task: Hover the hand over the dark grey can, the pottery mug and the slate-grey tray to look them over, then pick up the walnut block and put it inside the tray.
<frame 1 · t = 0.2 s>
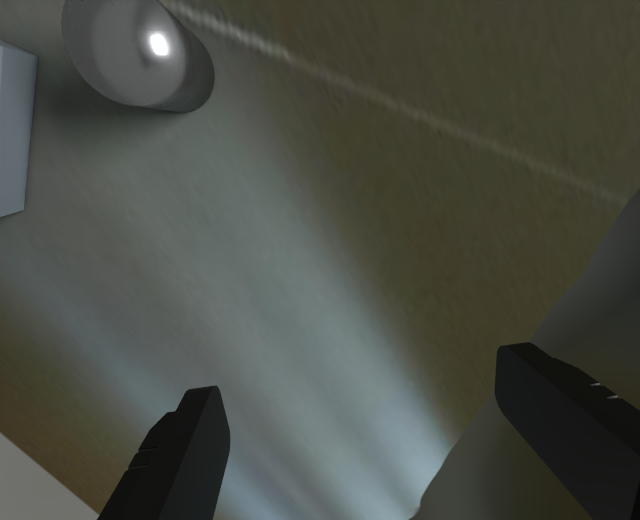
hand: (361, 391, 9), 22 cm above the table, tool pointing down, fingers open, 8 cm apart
grey can: (175, 70, 24), on the table
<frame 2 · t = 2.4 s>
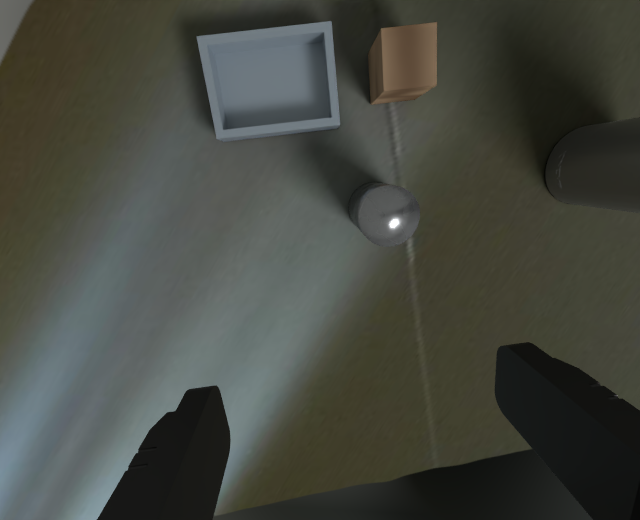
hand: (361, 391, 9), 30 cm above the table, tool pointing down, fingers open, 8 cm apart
grey can: (372, 207, 37), on the table
slate tray: (274, 90, 33), on the table
walnut block: (391, 77, 33), on the table
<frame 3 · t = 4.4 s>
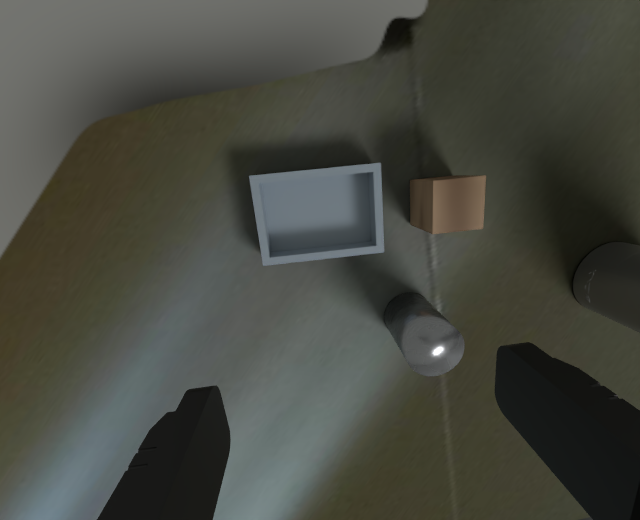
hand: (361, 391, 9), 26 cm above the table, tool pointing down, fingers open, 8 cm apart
grey can: (407, 314, 38), on the table
slate tray: (318, 212, 33), on the table
walnut block: (431, 200, 34), on the table
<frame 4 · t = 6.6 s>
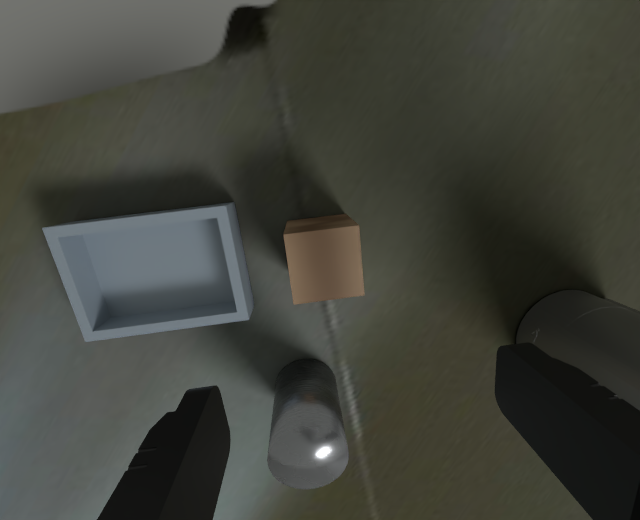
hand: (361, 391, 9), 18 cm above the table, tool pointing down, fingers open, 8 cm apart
grey can: (306, 385, 30), on the table
slate tray: (168, 265, 25), on the table
walnut block: (319, 245, 26), on the table
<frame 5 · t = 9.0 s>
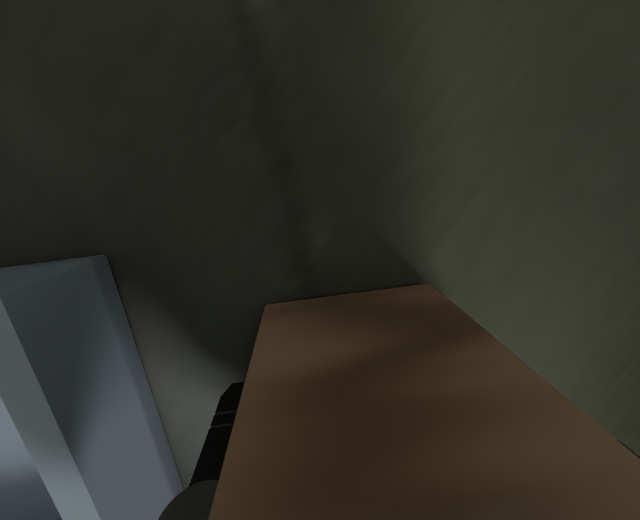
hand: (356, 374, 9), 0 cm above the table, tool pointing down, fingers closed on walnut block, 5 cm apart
walnut block: (354, 364, 10), on the table, touching gripper
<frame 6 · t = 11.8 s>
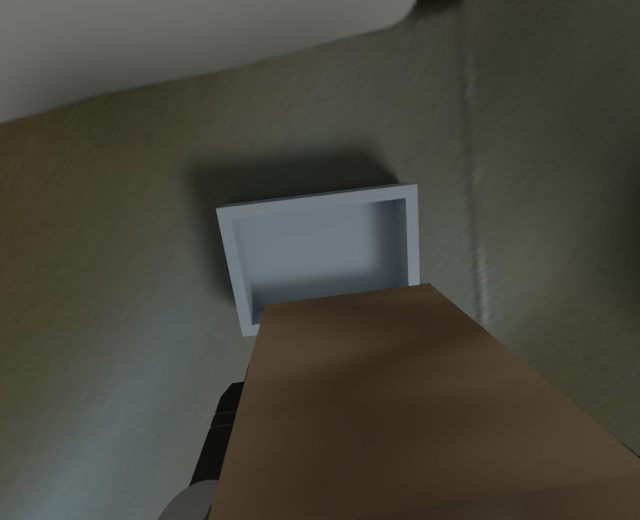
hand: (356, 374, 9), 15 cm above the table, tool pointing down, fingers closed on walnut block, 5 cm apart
slate tray: (322, 253, 23), on the table
walnut block: (354, 364, 10), point 14 cm above the table, touching gripper
when the fingers open (3 cm above the table, at t = 14.7 s): walnut block drops 2 cm, resting on slate tray.
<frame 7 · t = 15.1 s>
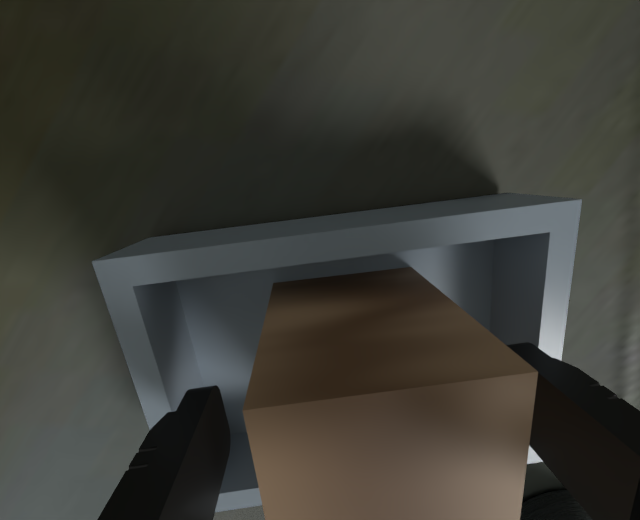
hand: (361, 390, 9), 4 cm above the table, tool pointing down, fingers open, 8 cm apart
slate tray: (343, 328, 12), on the table
walnut block: (347, 336, 11), point 1 cm above the table, touching slate tray
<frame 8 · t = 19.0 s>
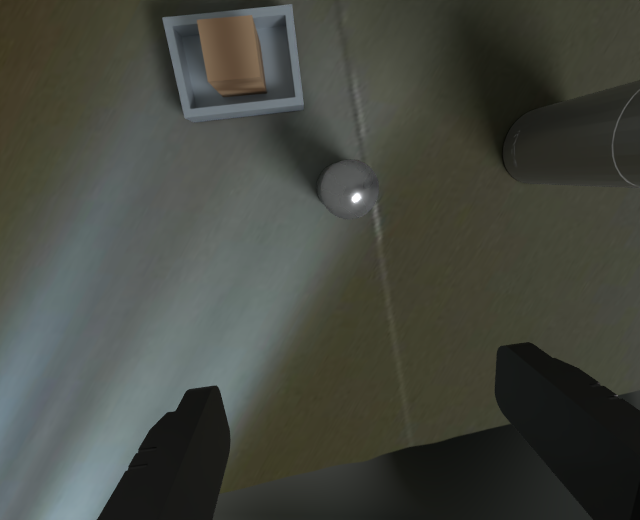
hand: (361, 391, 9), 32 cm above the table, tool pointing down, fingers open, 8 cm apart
grey can: (339, 187, 38), on the table
slate tray: (241, 72, 34), on the table
walnut block: (241, 70, 34), point 1 cm above the table, touching slate tray
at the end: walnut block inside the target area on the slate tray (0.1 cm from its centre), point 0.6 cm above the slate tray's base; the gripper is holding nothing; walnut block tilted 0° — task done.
